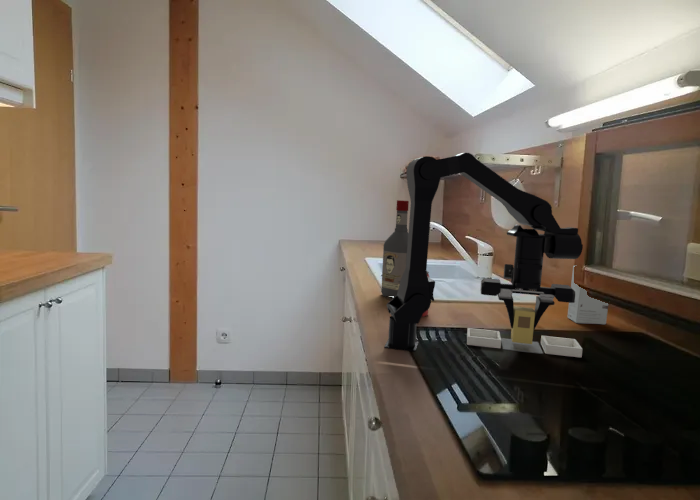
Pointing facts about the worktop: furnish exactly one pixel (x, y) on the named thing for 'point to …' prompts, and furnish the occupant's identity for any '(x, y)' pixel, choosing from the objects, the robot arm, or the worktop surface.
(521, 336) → the tan carton
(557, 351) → the white square tray
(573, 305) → the skincare box
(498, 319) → the worktop surface
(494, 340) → the shallow white dish
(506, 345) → the slate coaster
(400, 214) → the liquor
